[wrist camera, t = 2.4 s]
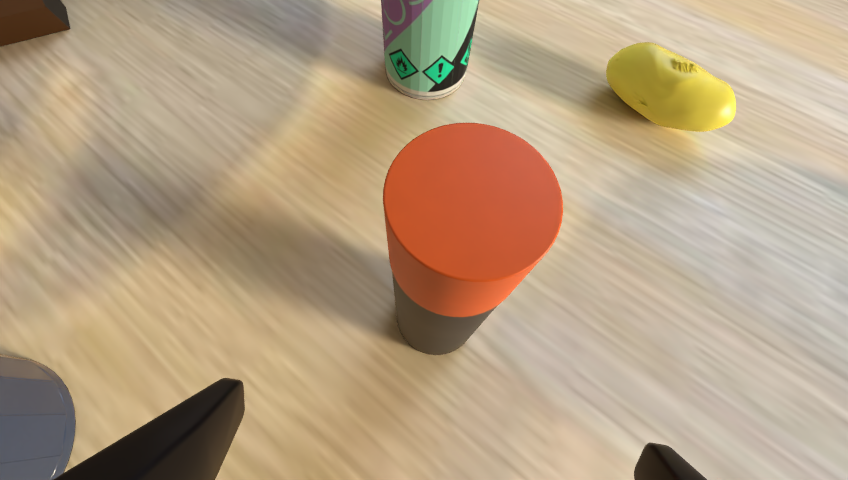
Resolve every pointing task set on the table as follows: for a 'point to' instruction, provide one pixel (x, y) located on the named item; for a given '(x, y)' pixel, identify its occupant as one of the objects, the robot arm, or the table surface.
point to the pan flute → (30, 19)
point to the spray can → (427, 44)
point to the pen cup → (33, 421)
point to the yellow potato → (670, 88)
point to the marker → (464, 228)
